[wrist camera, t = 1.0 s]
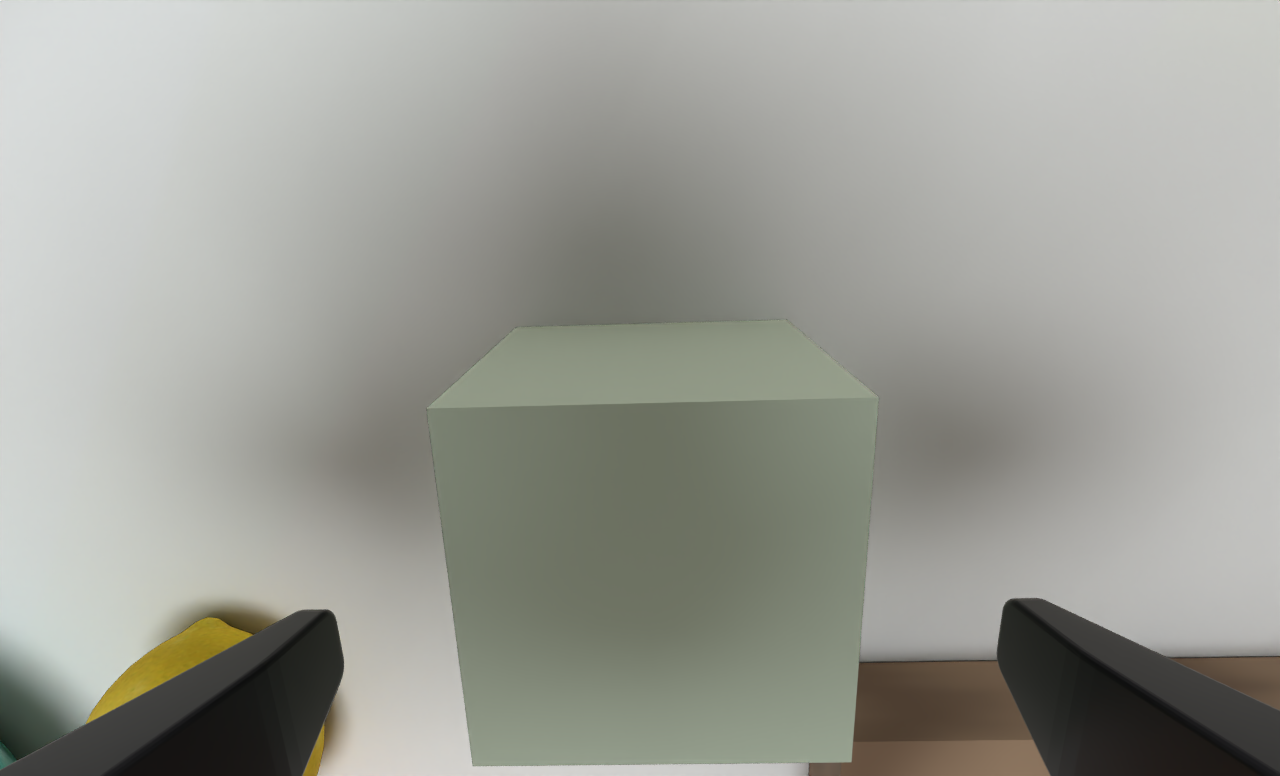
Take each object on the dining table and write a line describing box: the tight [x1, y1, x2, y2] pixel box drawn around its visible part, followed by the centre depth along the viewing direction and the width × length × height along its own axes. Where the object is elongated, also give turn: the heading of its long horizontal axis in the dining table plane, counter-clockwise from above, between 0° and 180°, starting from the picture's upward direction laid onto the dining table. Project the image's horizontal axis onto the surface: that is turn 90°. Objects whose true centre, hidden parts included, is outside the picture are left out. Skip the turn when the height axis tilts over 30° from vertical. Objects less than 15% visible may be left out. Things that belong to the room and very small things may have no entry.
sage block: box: [426, 320, 879, 766], centre depth 12 cm, size 6×6×6 cm
